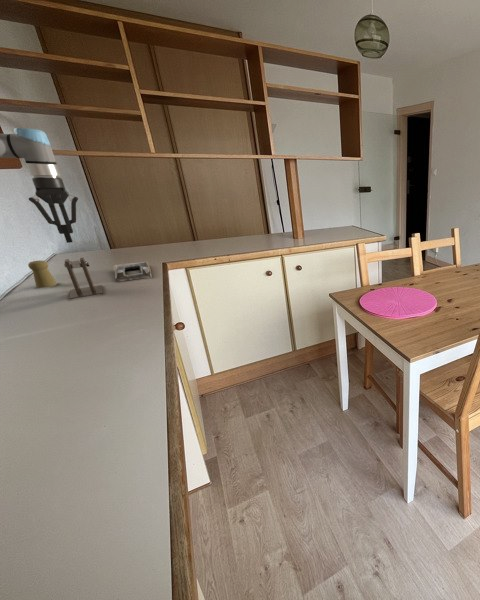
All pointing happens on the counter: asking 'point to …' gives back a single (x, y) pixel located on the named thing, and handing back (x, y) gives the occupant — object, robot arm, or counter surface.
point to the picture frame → (132, 266)
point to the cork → (41, 274)
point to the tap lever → (77, 264)
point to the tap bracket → (78, 291)
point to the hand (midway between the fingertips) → (69, 241)
